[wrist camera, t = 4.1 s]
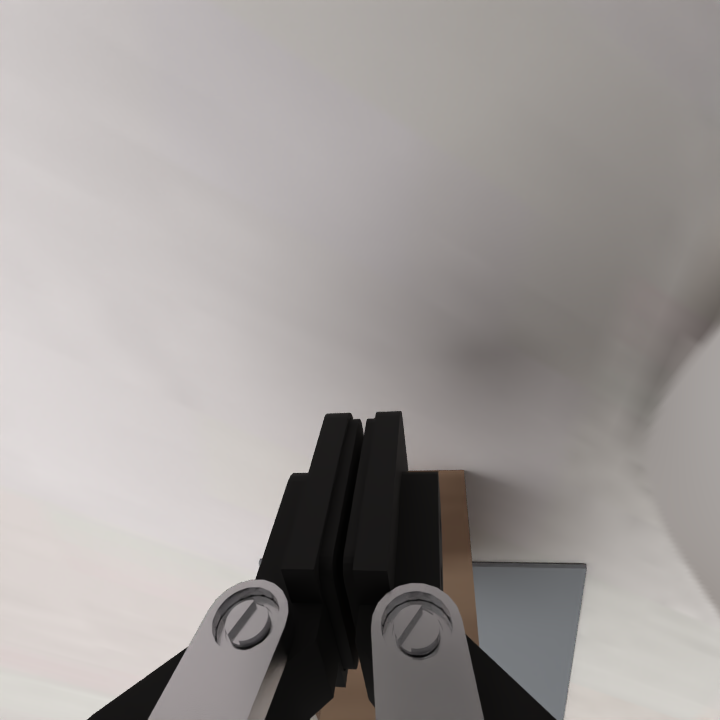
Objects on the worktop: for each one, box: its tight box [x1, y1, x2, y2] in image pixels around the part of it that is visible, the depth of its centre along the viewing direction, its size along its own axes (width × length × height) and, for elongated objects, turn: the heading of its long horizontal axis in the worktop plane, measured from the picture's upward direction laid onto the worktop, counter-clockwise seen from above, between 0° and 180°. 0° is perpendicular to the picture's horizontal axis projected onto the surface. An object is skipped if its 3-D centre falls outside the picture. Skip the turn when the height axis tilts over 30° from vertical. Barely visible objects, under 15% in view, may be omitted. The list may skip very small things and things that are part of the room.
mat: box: [259, 559, 587, 720], centre depth 26 cm, size 16×14×1 cm
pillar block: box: [320, 470, 479, 720], centre depth 16 cm, size 4×4×9 cm
